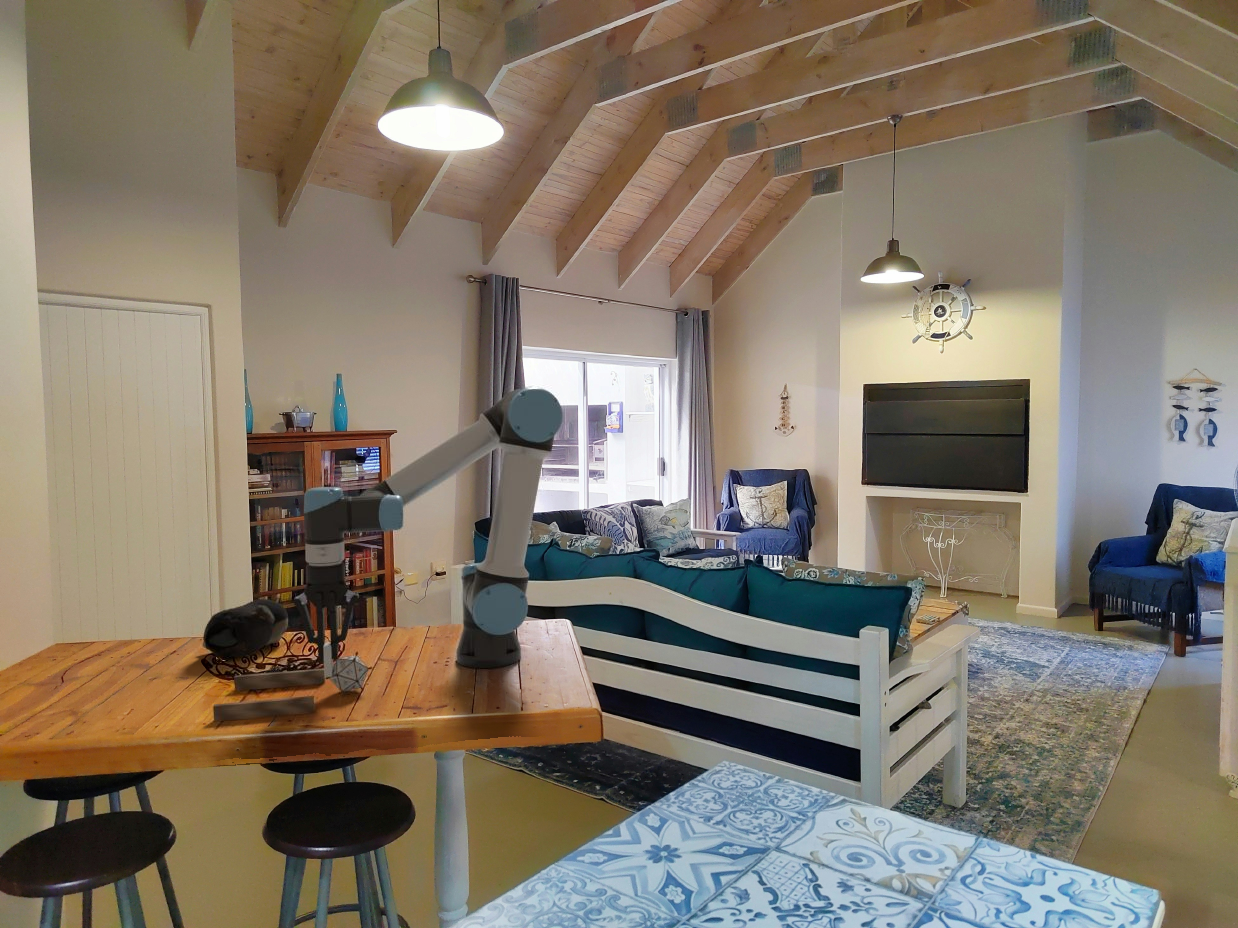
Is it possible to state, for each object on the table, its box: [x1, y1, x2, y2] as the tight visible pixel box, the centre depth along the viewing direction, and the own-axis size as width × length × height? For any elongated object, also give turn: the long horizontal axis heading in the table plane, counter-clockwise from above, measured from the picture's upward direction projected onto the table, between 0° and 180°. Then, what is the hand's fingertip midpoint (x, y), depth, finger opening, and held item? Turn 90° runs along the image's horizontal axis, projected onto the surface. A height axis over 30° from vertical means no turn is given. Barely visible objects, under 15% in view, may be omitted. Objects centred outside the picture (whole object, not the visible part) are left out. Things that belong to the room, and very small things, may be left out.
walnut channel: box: [212, 668, 326, 723], centre depth 162 cm, size 18×18×3 cm
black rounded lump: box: [201, 598, 289, 661], centre depth 197 cm, size 20×21×13 cm
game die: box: [325, 651, 374, 696], centre depth 167 cm, size 9×8×10 cm
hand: (328, 674), depth 165 cm, fingers closed
